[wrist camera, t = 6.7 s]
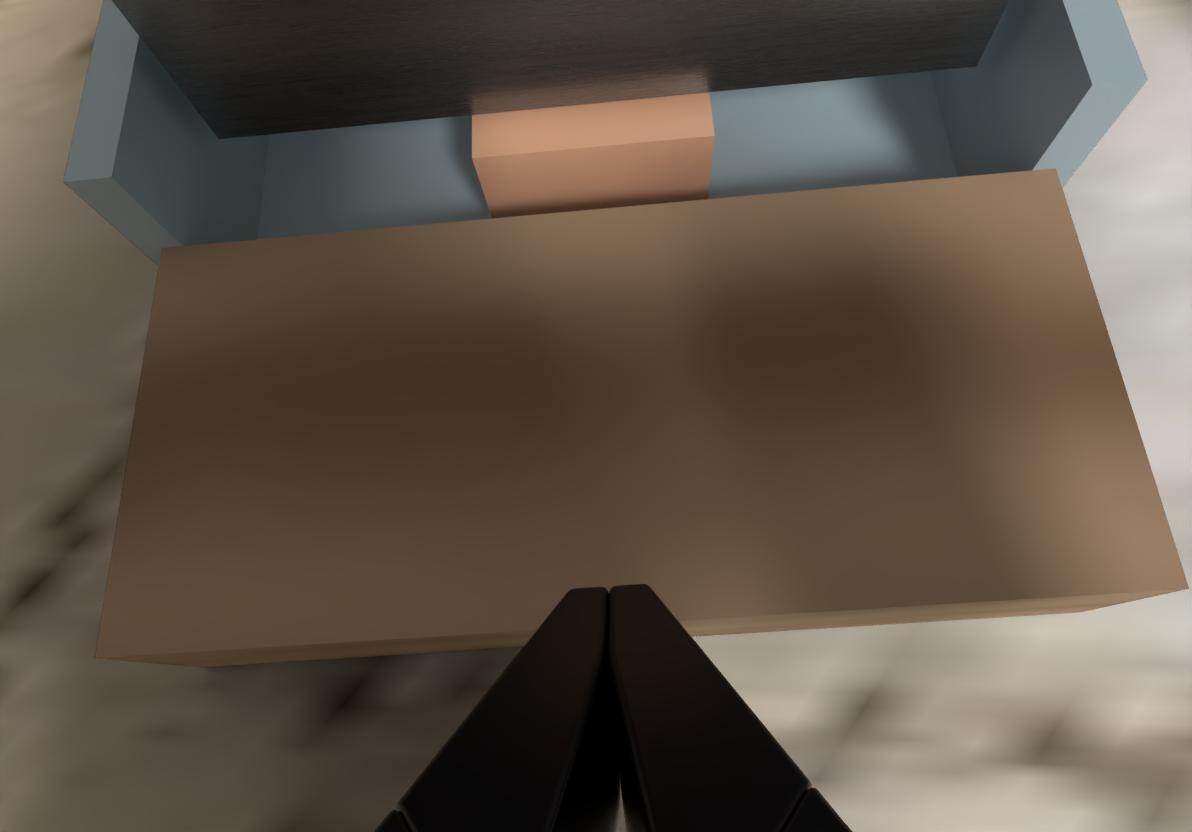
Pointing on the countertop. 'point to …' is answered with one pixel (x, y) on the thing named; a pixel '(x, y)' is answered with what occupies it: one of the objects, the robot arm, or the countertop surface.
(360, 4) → the grey flat plank
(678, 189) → the tile
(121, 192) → the box
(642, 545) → the raised board
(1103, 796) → the countertop surface
